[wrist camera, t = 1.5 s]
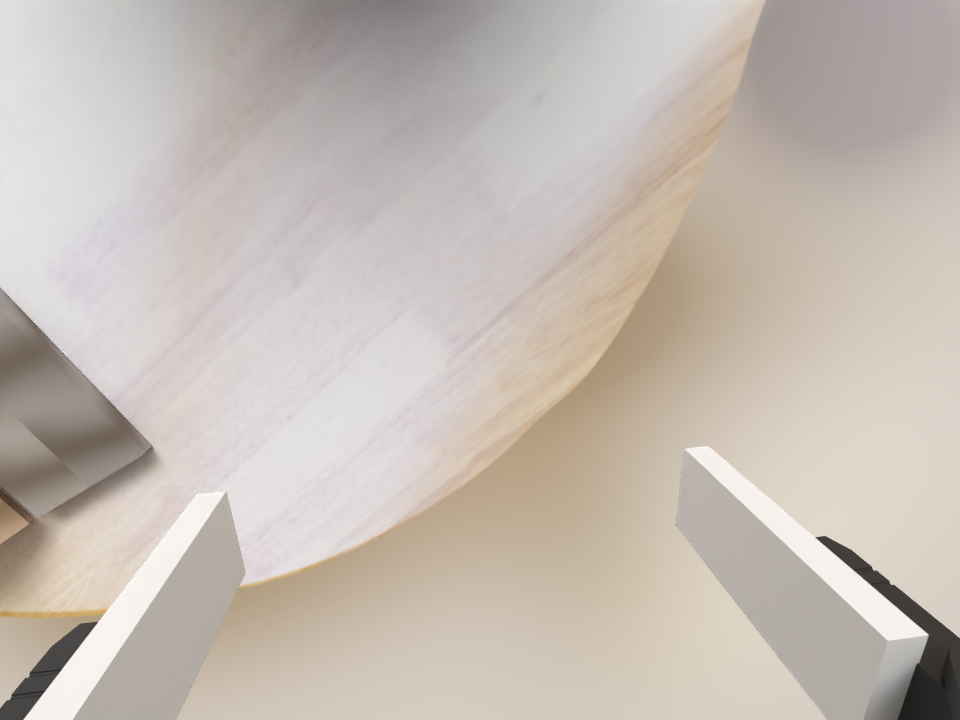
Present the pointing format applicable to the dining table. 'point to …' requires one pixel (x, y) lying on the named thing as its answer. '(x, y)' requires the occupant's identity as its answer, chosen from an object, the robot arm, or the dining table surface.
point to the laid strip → (53, 420)
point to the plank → (11, 518)
